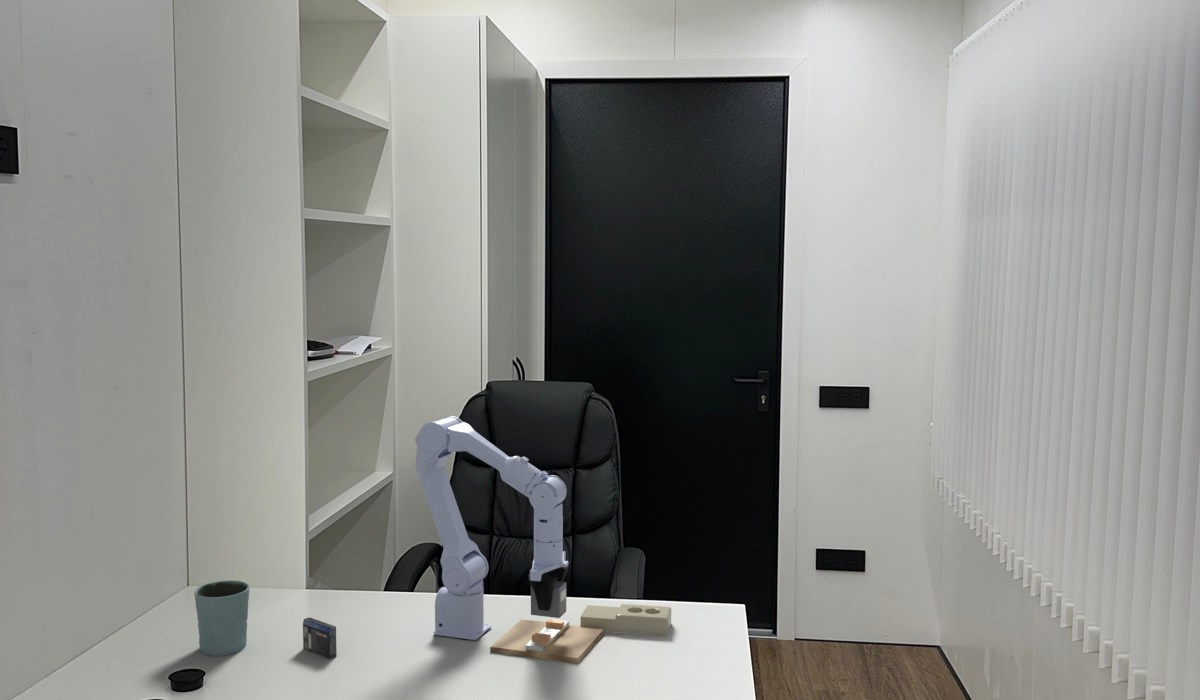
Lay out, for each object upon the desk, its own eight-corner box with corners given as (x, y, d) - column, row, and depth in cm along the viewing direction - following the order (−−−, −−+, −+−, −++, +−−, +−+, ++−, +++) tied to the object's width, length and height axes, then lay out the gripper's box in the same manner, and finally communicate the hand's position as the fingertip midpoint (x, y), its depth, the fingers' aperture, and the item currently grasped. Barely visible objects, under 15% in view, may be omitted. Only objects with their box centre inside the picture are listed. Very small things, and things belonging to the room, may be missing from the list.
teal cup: (230, 634, 207) (229, 576, 206) (262, 645, 201) (260, 586, 200) (185, 650, 199) (183, 590, 197) (216, 662, 193) (214, 600, 192)
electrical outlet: (587, 600, 217) (671, 606, 214) (587, 619, 218) (671, 625, 214) (580, 612, 210) (667, 618, 207) (580, 631, 211) (667, 637, 207)
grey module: (530, 614, 202) (530, 585, 201) (538, 608, 206) (538, 579, 205) (560, 618, 200) (560, 588, 199) (567, 611, 204) (567, 582, 203)
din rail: (525, 650, 197) (525, 640, 197) (553, 624, 211) (553, 614, 211) (542, 652, 196) (542, 642, 195) (569, 626, 210) (569, 616, 210)
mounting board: (490, 651, 199) (490, 646, 198) (521, 623, 214) (521, 619, 214) (577, 663, 193) (577, 658, 193) (603, 634, 208) (603, 629, 208)
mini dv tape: (303, 649, 200) (302, 619, 199) (309, 646, 201) (309, 617, 200) (330, 659, 195) (329, 628, 194) (336, 656, 196) (335, 626, 195)
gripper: (554, 550, 193) (554, 620, 195) (579, 531, 207) (579, 596, 208) (519, 547, 196) (520, 616, 197) (547, 528, 209) (547, 593, 211)
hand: (548, 606), depth 203 cm, fingers closed on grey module, 4 cm apart
